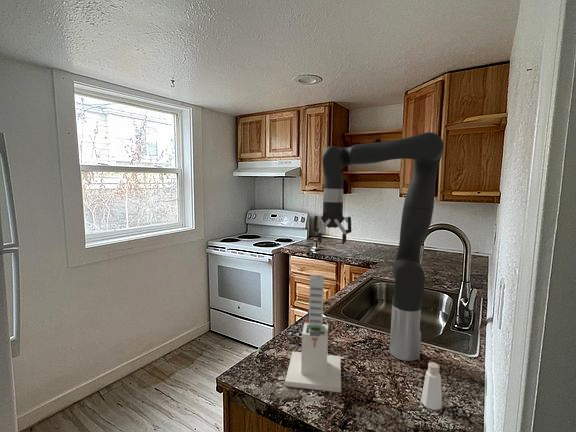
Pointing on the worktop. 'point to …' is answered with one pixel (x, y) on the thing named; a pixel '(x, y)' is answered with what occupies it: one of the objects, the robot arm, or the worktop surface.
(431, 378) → the pepper shaker
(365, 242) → the worktop surface
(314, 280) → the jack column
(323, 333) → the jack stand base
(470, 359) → the worktop surface
